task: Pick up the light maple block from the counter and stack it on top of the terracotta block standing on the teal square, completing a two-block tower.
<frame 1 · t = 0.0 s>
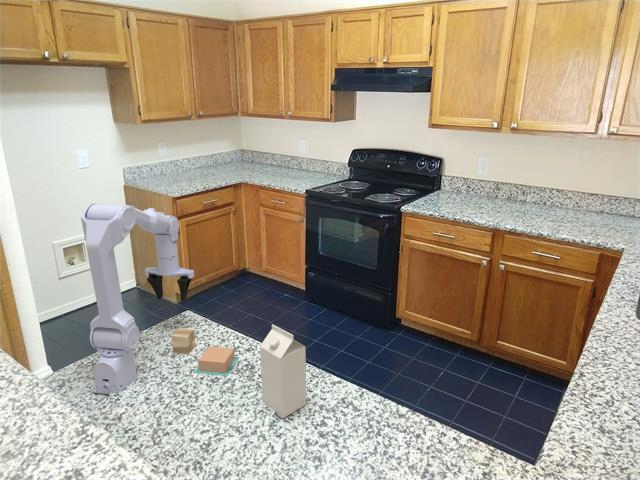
hand: (172, 298, 136), 10 cm above the countertop, tool pointing down, fingers open, 7 cm apart
maple block: (184, 352, 126), on the countertop
base block: (217, 364, 118), point 1 cm above the countertop, touching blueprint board
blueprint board: (217, 367, 118), on the countertop
milk carton: (284, 405, 103), on the countertop
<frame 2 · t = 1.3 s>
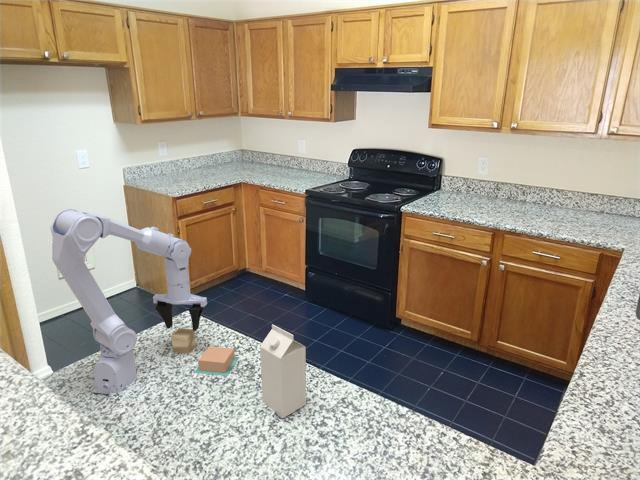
hand: (182, 328, 124), 7 cm above the countertop, tool pointing down, fingers open, 7 cm apart
nothing on the countertop moved.
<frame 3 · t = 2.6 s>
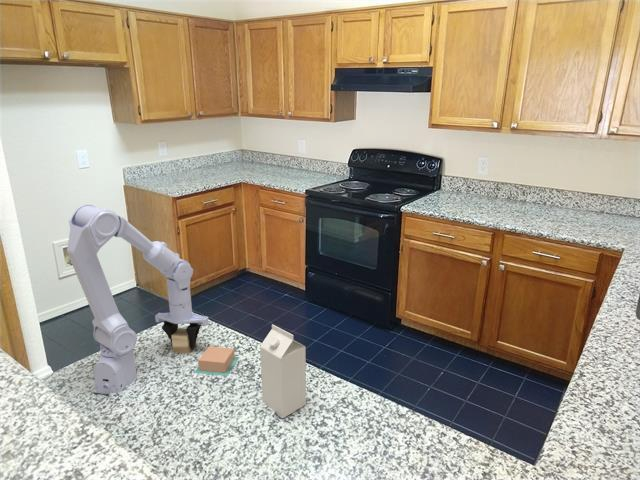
hand: (184, 346, 125), 2 cm above the countertop, tool pointing down, fingers closed on maple block, 4 cm apart
maple block: (184, 351, 126), on the countertop, touching gripper
everything else where it was.
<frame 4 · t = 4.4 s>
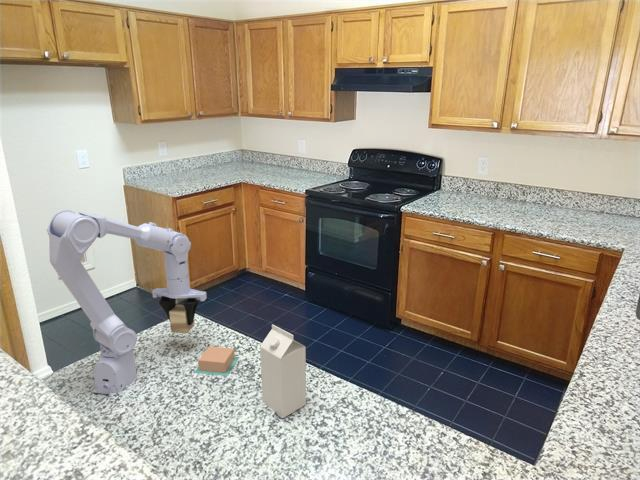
hand: (182, 322, 123), 9 cm above the countertop, tool pointing down, fingers closed on maple block, 4 cm apart
maple block: (182, 328, 124), point 7 cm above the countertop, touching gripper
everything else where it was.
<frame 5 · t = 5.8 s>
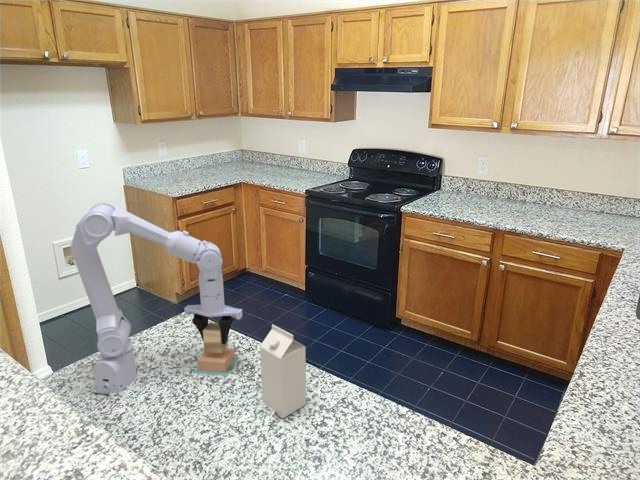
hand: (215, 341, 116), 8 cm above the countertop, tool pointing down, fingers closed on maple block, 4 cm apart
maple block: (216, 348, 117), point 6 cm above the countertop, touching gripper
everything else where it was.
when the fingers open (7 cm above the countertop, at t = 6.7 s): maple block drops 1 cm, resting on base block.
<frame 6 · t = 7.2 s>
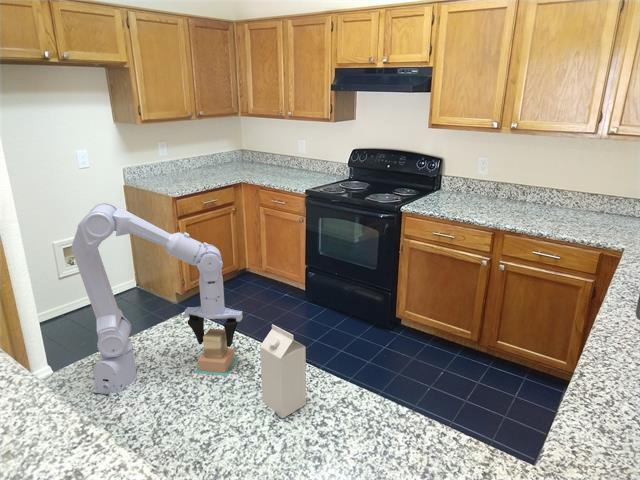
hand: (215, 343, 116), 7 cm above the countertop, tool pointing down, fingers open, 7 cm apart
maple block: (216, 354, 117), point 4 cm above the countertop, touching base block
base block: (217, 364, 118), point 1 cm above the countertop, touching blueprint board, maple block
everything else where it was.
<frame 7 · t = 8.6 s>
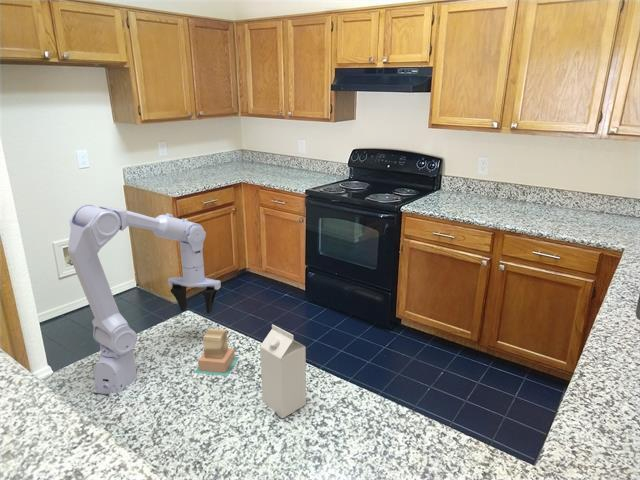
hand: (196, 310, 127), 10 cm above the countertop, tool pointing down, fingers open, 7 cm apart
nothing on the countertop moved.
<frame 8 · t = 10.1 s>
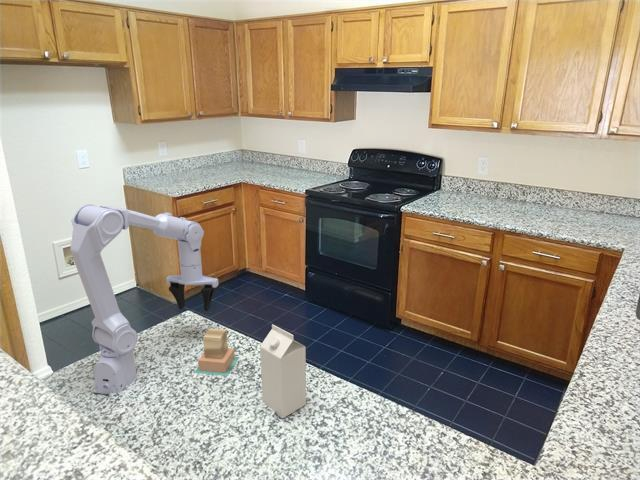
hand: (194, 308, 128), 10 cm above the countertop, tool pointing down, fingers open, 7 cm apart
nothing on the countertop moved.
at the end: maple block 0.1 cm off-centre on the base block, point 3.0 cm above the base block's base; maple block tilted 0°; the gripper is holding nothing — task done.
